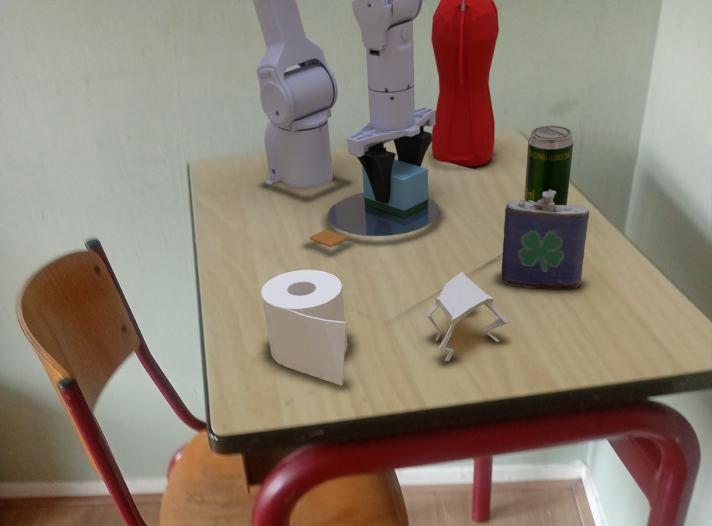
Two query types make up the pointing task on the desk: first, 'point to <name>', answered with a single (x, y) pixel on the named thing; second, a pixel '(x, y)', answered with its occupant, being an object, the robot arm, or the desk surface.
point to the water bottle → (464, 80)
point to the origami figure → (463, 306)
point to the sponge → (401, 190)
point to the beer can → (549, 163)
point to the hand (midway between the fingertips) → (395, 195)
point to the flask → (544, 243)
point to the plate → (377, 218)
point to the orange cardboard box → (328, 238)
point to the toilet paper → (307, 323)
